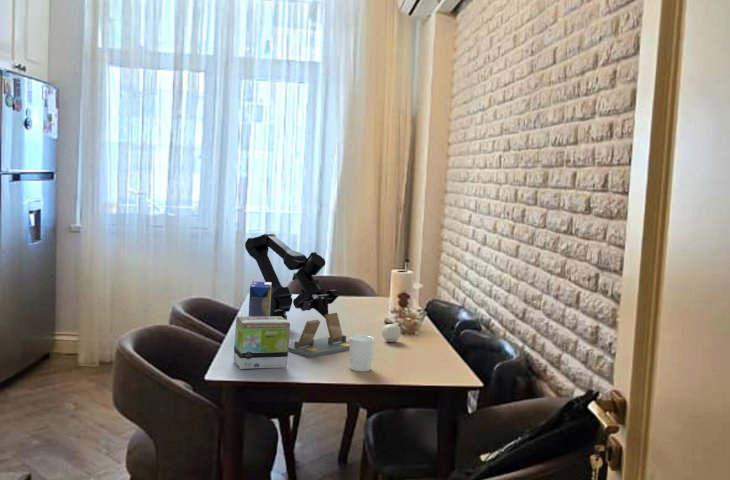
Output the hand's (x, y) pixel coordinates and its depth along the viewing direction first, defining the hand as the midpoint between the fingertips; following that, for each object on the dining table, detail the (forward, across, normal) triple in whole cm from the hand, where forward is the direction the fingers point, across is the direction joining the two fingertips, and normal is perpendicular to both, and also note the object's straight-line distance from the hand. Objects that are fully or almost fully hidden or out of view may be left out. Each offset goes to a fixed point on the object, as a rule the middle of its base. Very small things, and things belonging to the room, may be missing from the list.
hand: (327, 317), depth 255 cm
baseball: (+16, -22, +2) cm, 27 cm away
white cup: (+28, +14, +15) cm, 35 cm away
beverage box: (+1, +25, -12) cm, 28 cm away
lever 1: (+8, +14, -2) cm, 16 cm away
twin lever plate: (+10, +7, -3) cm, 13 cm away
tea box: (+13, +37, 0) cm, 40 cm away
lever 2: (+9, 0, -1) cm, 9 cm away
